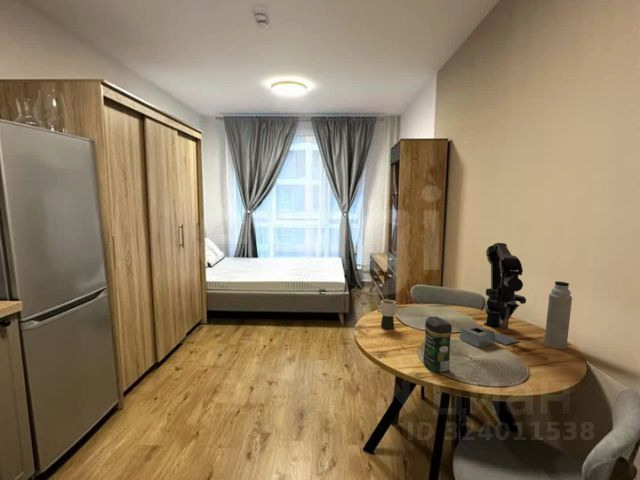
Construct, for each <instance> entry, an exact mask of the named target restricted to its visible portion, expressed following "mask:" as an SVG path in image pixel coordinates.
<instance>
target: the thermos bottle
mask: <svg viewBox="0 0 640 480" xmlns="http://www.w3.org/2000/svg"><path fill="white" fill-rule="evenodd" d="M569 286H570V283H569V282H566V281H554V286H553V288H551V290H550V291H551V292H550V293H548V304H547V313H546V325H545V334H544V345H546V346H547V347H549V348H552V349H557V350H566V349H567V348H568V338H569V330H570V320H571V311H572V304H573V303H572V301H573V297H572V296H571V294H572V293H571V290H569Z"/></svg>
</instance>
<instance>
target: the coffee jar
mask: <svg viewBox="0 0 640 480" xmlns="http://www.w3.org/2000/svg"><path fill="white" fill-rule="evenodd" d="M452 330H453V328H452V324H451V323H449V322H448V321H446V319H443V318H441V317H439V316H437V315H436V316H428V317H427V318H426V320H425V324H424V331H425V332H424V333H425V337H424V338H425V339H424V350H423V360H422V362H423V364H424V365H425V366H426V367H427V368H428V369H429V370H431V372H433V373H434V372H435V373H445V372H447V371H449V370H450V362H451V361H450V360H451V359H450V352H451V350H450V349H451V336H452V333H453V331H452Z"/></svg>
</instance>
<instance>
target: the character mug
mask: <svg viewBox="0 0 640 480" xmlns="http://www.w3.org/2000/svg"><path fill="white" fill-rule="evenodd" d="M399 309H400V305H399V304H397V301H395V300H392V299H382V300H381V301H380V305H377V313H380V314H381V315H382V316H381V322H380V323H381V324H380V327H382V328H384V329H387V330H389V329H390V330H391V329H393V328H394V327H395V322H394V319H395V318H394V316H396V312H399Z"/></svg>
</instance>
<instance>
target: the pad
mask: <svg viewBox="0 0 640 480" xmlns="http://www.w3.org/2000/svg"><path fill="white" fill-rule="evenodd" d="M495 342H496V343H498V344H501V345H503V346H506V347H507V346H510V345H514V344H517V343H520V340H519V339H516V338H514V337H511V336H508V335H505V334H504V333H497V334H495Z"/></svg>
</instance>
